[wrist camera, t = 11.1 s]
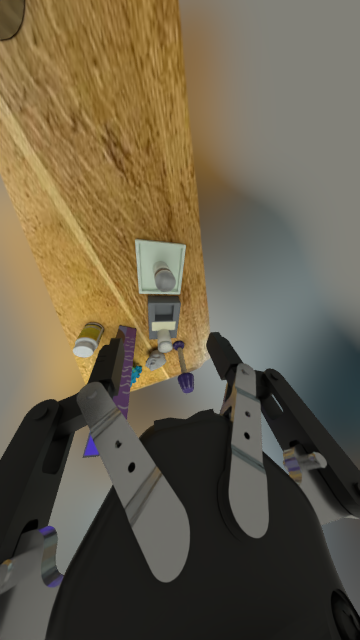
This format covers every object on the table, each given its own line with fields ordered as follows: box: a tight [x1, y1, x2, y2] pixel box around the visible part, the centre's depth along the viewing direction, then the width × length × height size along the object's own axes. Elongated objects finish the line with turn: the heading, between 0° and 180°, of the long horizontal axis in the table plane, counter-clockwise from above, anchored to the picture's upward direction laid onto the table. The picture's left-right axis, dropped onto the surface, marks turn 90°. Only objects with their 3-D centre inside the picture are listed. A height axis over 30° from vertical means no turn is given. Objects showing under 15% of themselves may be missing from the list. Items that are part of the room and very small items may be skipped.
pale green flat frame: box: [135, 239, 186, 294], centre depth 29 cm, size 11×10×2 cm
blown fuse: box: [153, 261, 176, 292], centre depth 26 cm, size 4×4×8 cm
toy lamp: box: [173, 341, 194, 393], centre depth 41 cm, size 5×5×17 cm
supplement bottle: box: [73, 323, 104, 357], centre depth 33 cm, size 5×5×8 cm
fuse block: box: [148, 296, 181, 353], centre depth 34 cm, size 12×8×10 cm, turn 174°
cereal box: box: [83, 325, 136, 458], centre depth 33 cm, size 17×5×24 cm, turn 154°
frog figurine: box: [146, 350, 166, 371], centre depth 45 cm, size 6×7×7 cm
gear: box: [130, 366, 142, 387], centre depth 48 cm, size 11×6×10 cm
